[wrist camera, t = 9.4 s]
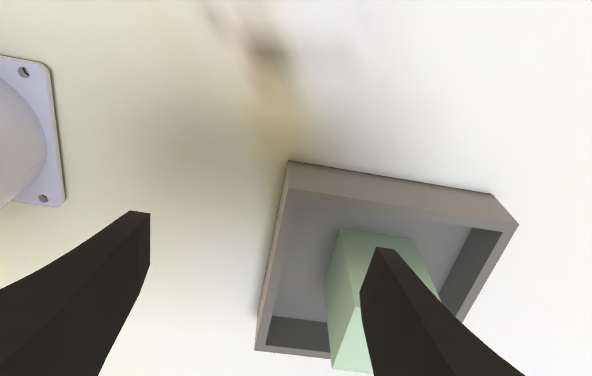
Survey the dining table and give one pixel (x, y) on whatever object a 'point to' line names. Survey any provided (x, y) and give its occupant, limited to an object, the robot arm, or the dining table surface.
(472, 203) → the gray tray
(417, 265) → the mint block
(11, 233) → the dining table surface
